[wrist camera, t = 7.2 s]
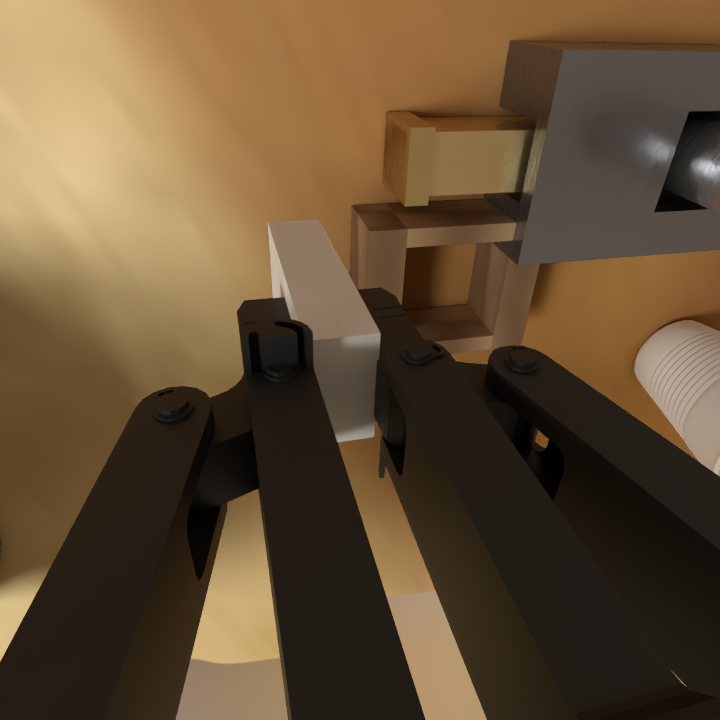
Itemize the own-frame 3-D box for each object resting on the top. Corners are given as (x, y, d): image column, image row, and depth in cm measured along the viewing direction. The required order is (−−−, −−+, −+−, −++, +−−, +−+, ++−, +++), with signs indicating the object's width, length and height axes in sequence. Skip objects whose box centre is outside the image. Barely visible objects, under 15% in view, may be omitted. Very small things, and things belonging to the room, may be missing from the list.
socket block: (479, 231, 32) (517, 265, 28) (510, 40, 27) (563, 49, 23) (674, 219, 35) (733, 248, 31) (739, 44, 30) (822, 53, 26)
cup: (669, 278, 38) (807, 364, 29) (747, 316, 42) (889, 401, 34) (585, 385, 42) (684, 489, 34) (664, 410, 47) (770, 507, 38)
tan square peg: (382, 183, 29) (404, 206, 26) (386, 111, 27) (411, 127, 24) (561, 175, 32) (601, 196, 28) (577, 109, 30) (622, 124, 26)
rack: (349, 328, 34) (364, 363, 31) (351, 205, 30) (369, 231, 26) (492, 314, 36) (520, 345, 33) (515, 197, 32) (550, 220, 29)
